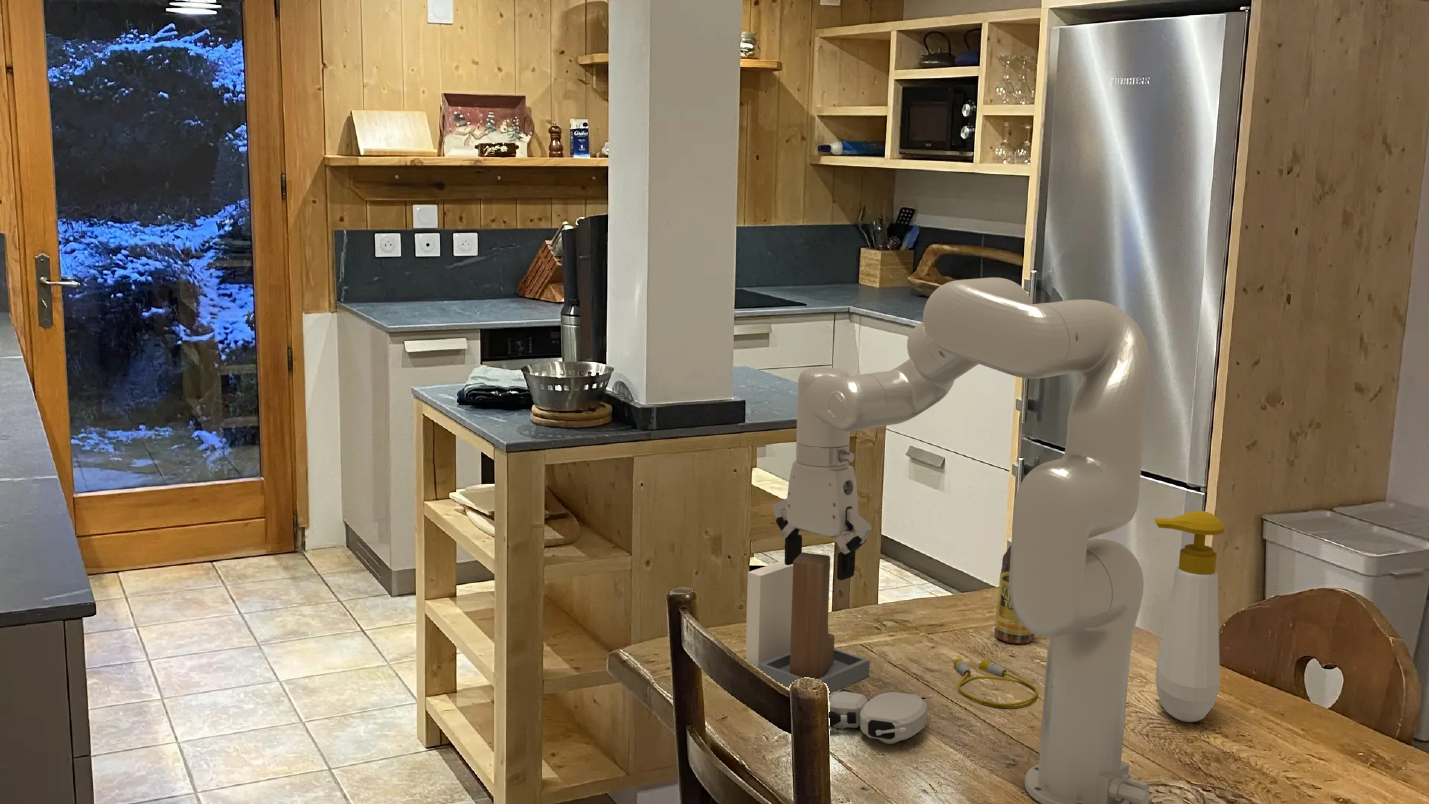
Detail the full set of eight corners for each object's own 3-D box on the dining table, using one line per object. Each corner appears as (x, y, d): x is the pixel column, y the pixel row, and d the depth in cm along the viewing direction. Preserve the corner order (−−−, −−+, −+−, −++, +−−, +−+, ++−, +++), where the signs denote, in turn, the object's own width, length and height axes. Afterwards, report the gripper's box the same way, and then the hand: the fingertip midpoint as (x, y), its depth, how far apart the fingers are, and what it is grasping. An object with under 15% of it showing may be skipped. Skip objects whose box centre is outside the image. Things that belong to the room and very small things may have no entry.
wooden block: (805, 658, 202) (809, 543, 199) (834, 662, 201) (838, 546, 197) (788, 679, 194) (792, 560, 191) (818, 684, 192) (823, 563, 189)
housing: (869, 676, 198) (873, 578, 196) (813, 700, 189) (817, 599, 186) (786, 647, 209) (789, 555, 206) (730, 669, 200) (732, 573, 197)
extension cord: (1035, 673, 202) (1036, 661, 202) (1039, 715, 187) (1040, 702, 186) (953, 666, 204) (954, 653, 204) (951, 707, 189) (951, 693, 189)
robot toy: (801, 742, 178) (910, 758, 172) (800, 709, 178) (909, 724, 171) (835, 709, 189) (938, 723, 182) (834, 678, 188) (937, 691, 182)
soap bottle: (1132, 691, 195) (1148, 497, 190) (1207, 697, 193) (1225, 501, 188) (1143, 727, 182) (1160, 521, 177) (1223, 735, 181) (1243, 526, 175)
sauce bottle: (992, 643, 213) (999, 522, 209) (996, 630, 219) (1003, 512, 215) (1034, 648, 211) (1042, 526, 207) (1037, 634, 217) (1045, 516, 213)
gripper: (887, 461, 188) (882, 578, 191) (792, 441, 199) (789, 552, 203) (855, 469, 182) (850, 590, 186) (759, 449, 194) (756, 563, 197)
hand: (818, 570), depth 194 cm, fingers open, 9 cm apart
